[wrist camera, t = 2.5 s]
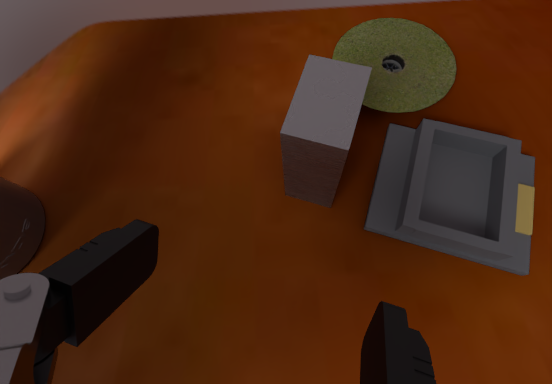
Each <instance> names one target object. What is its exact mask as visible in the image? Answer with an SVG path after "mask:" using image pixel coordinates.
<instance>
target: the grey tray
mask: <svg viewBox="0 0 552 384" xmlns="http://www.w3.org/2000/svg"><path fill="white" fill-rule="evenodd" d="M534 168H535V157H532V156H528V155H524V154H521V141H520V140H516V139H512V138H508V137H505V136H501V135H496V134H492V133H488V132H483V131H479V130H474V129H470V128H466V127H461V126H457V125H453V124H448V123H444V122H439V121H433V120H428V119H423V120H422V122H421V123H420V125H419V126H418V128H417V129H413V128H408V127H404V126H400V125H395V124H391V123H390V124H389V126H388V129H387V133H386V137H385V141H384V146H383V150H382V154H381V158H380V162H379V166H378V171H377V175H376V179H375V183H374V187H373V191H372V196H371V200H370V204H369V208H368V212H367V216H366V221H365V225H364V230H368V231H371V232H375V233H378V234H381V235H385V236H388V237H392V238H395V239H398V240H402V241H405V242H409V243H412V244H416V245H419V246H422V247H426V248H429V249H433V250H436V251H439V252H443V253H446V254H450V255H453V256H457V257H460V258H463V259H467V260H470V261H474V262H477V263H480V264H484V265H487V266H491V267H494V268H498V269H501V270H504V271H508V272H511V273H515V274H518V275H521V276H522V275H527V274H529V262H530V243H531V235H532V228H533V209H534V189H535V187H533V186H534Z"/></svg>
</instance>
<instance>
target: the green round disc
mask: <svg viewBox="0 0 552 384" xmlns="http://www.w3.org/2000/svg"><path fill="white" fill-rule="evenodd" d="M454 57H455V56H453V53H452V51H451V50H450V48H449V47H448V45H447V43H446V42H445V41H444V40H443V39H442V38H441V37H439V35H438V34H436V33H435V32H434V31H432V29H429V28H427V27H425V26H424V25H421V24H418V23H416V22H412V21H410V20H406V19H395V18H385V19H384V18H380V19H377V20H375V19H374V20H370V21H367V22H365V23H362V24H359V25H357V26H355V27H353V28H352V29H350V30H349V31H348V32H346V33H345V34H344V35H343V36H342V38H341V39H340V40H339V42H338V43H337V45H336V47H335V50H334V55H333V58H332V59H333V60H338V61H343V62H348V63H352V64H357V65H362V66H367V67H372V70H371V73H370V77H369V80H368V84H367V87H366V91H365V95H364V98H363V102H362V104H363V105H365V106H368V107H369V108H373V109H376V110H380V111H385V112H398V113H401V112H414V111H418V110H421V109H423V108H426V107H429V106H430V105H433V104H434V103H436V102H437V101H439V100H440V99H442V98H443V97H444V96H445V95H446V94H447V93H448V91H449V90H450V89H451V87H452V84H453V83H454V80H455V78H454V77H455V75H456V61H455V58H454Z"/></svg>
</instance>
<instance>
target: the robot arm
mask: <svg viewBox="0 0 552 384" xmlns="http://www.w3.org/2000/svg"><path fill="white" fill-rule="evenodd" d="M44 229H45V214H44V209H43V207H42V204H41V202H40V200H39V199H38V198H37V197H36V196H35V195H34V194H33V193H31V192H30V191H28V190H27V189H25V188H23V187H21V186H19V185H16V184H14V183H12V182H10V181H8V180H6V179H4V178H2V177H0V384H51V383H52V379H53V374H54V370H55V365H56V361H57V356H58V349H57V346H58V345H60V344H61V343H62V342H63V341H64V342H66V343H69V344H71V345H73V346H76V347H78V346H79V345H80V344H81V343H82V342H83V341H84V340H85V339H86V338H87V337H88V336H89V335H90V334H91V333H92V332H93V331H94V330H95V329H96V328H97V327H98V326H99V325H100V324H101V323H102V322H103V321H104V320H106V319H107V318H108V317H109V316H110V315H111V314H112V313H113V312H114V311H115V310H116V309H117V308H118V307H119V306H120V305H121V304H122V303H123V302H124V301H125V300H126V299H127V298H128V297H129V296H130V295H131V294H132V293H133V292H134V291H135V290H137V289H138V288H139V287H140V286H141V285H142V284H143V283H144V282H145V281H146V280H147V279H148V278H149V277H150V276H151V274H152V273H153V271H154V269H155V267H156V264H157V256H158V236H159V229H158V227H157V226H156V225H153V224H150V223H147V222H144V221H141V220H138V219H137V220H134V221H132V222H131V223H129V224H128V225H126V226H125V227H123V228H122V229H120V228H116V229H113V230H110V231H107V232H104V233H102V234H100V235H99V236H97V237H95V238H94V239H92V240H91V241H90V242H89V243H88V242H87V243H86V244H84V245H83V246H81V247H80V248H79V250H78V249H76V250H75V251H73V252H72V253H70V254H69V255H67V256H65V257H64V258H62V259H61V260H59V261H57V262H56V263H54V264H53V265H51V266H50V267H48V268H46V269H45V270H43V271H42V272H40V273H39V274H36V273H21V274H17V273H18V272H19V271H20V270H21V269H22V268H23V267H24V266H25V265H26V264H27V263H28V262H29V261H30V259H31V258H32V256H33V255H34V254H35V252H36V251H37V248H38V246H39V244H40V242H41V240H42V237H43V233H44ZM431 365H432V361H431V356H430V351H429V347H428V345H427V344H426V342H425V340H424V339H423V337H422V335H421V334H420V332H419V331H417V330H414V329H411V328H408V321H407V314H406V310H405V309H404V308H401V307H398V306H395V305H392V304H389V303H386V302H383V301H381V302H380V303H379V304H378V306H377V309H376V311H375V313H374V315H373V318H372V320H371V322H370V325H369V327H368V329H367V331H366V334H365V336H364V340H363V344H362V349H361V368H360V384H436V380H434V377H435V376H434V371H433V366H431Z"/></svg>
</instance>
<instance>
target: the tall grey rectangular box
mask: <svg viewBox="0 0 552 384" xmlns="http://www.w3.org/2000/svg"><path fill="white" fill-rule="evenodd" d="M371 70H372V67H367V66H362V65H357V64H352V63H348V62H343V61H338V60H333V59H328V58H324V57H319V56H314V55H309V57H308V59H307V62H306V65H305V67H304V70H303V73H302V75H301V78H300V81H299V83H298V86H297V89H296V92H295V94H294V97H293V100H292V102H291V105H290V108H289V110H288V113H287V116H286V118H285V121H284V124H283V126H282V129H281V132H280V137H281V149H282V161H283V173H284V185H285V195H287V196H290V197H294V198H297V199H301V200H304V201H308V202H311V203H315V204H318V205H322V206H325V207H329V208H331V205H332V202H333V199H334V196H335V193H336V189H337V186H338V183H339V180H340V177H341V174H342V170H343V167H344V164H345V161H346V158H347V155H348V151H349V148H350V145H351V141H352V137H353V134H354V130H355V127H356V123H357V120H358V116H359V112H360V109H361V105H362V102H363V98H364V95H365V91H366V87H367V84H368V80H369V77H370V73H371Z"/></svg>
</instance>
